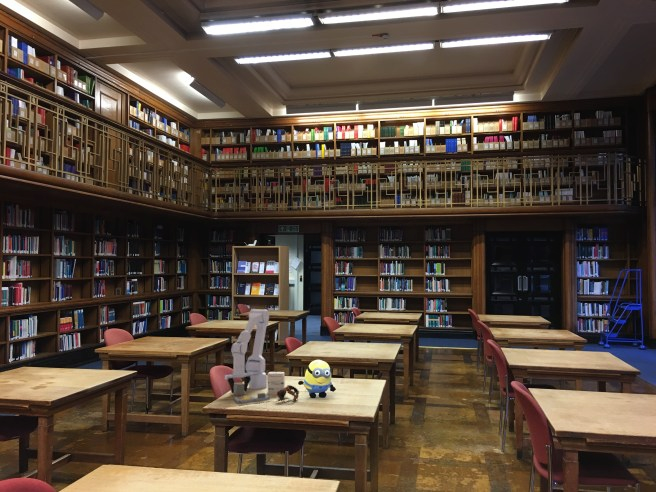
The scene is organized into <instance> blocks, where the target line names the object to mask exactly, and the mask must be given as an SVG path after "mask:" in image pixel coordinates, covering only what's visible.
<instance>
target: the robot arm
mask: <svg viewBox="0 0 656 492" xmlns="http://www.w3.org/2000/svg"><path fill="white" fill-rule="evenodd" d="M269 320H270V313H269V310H267V309H258V308H257V309H256V308H251V309H250V311H249V313H248V321H247V323H246V326H245V329H244V330H242V331H241V332H240V334H239V336H238V337H237V340H236V341H235V342H234V343H232V345H231V348H230V351H231V354H232V358H233V372H232V373H231V374H225V375H224V380H225V381H227V382H228V385H229V388H230V392H231V393H234V383H235V380H234V379H243V384H244V392H245V393H246V392H247V391H248V389H250V390H259V389H264V388H265V389H266V388H268V380H267V374H266V372H265V370H266V358H264V357H263V356H262V355H263V351H264V343H265V337H266V331H267V325H269ZM255 326H256V331H255V338H254V342H253V348H252V354H251V355H250V356H248V358H247V361H246V363H245V359H246V358H245V354H246V352H247V350H248V343H249V342H250V340H251V338H252V331H253V330H254V328H255ZM245 370H246V372H245Z"/></svg>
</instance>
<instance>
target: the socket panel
mask: <svg viewBox="0 0 656 492" xmlns="http://www.w3.org/2000/svg"><path fill="white" fill-rule="evenodd" d="M270 398H271V397H270V396H269V395H268V394H266V393H265V397H264V398H258V397H254V396H252V395H251V399H249V400H243V399H239V398H238V397H233V400H234V401H235V402H237V404H240V405H238V407H241V406H243V404H245V406H248V405H249V406H250V403H253V402H254V403H253V405H254V404H257V402H258V401H259V402H260V401H263V402H260V404H263V403H265V401H266V400H269V401H267V403H269V402H270V400H271V399H270ZM247 403H248V404H247Z"/></svg>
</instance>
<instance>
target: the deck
mask: <svg viewBox="0 0 656 492" xmlns="http://www.w3.org/2000/svg"><path fill="white" fill-rule="evenodd" d="M229 395H231V396H232V397H233V398H234V397H237V398H238V397H239V398H240V397H243V396H245V395H249V393H246V392H245V391H244V395H240V396H236V395H235V394H234V393H230V392H229Z"/></svg>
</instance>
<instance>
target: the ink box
mask: <svg viewBox="0 0 656 492" xmlns="http://www.w3.org/2000/svg"><path fill="white" fill-rule="evenodd" d="M266 376H267V395H268V394H270V395H272V394H273V395H278V391H280V390H282V389H283V388H285V387H286V384H285V383H286V382H285V381H286V380H285V372H284V371H270V372H268V373H267V374H266Z"/></svg>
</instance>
